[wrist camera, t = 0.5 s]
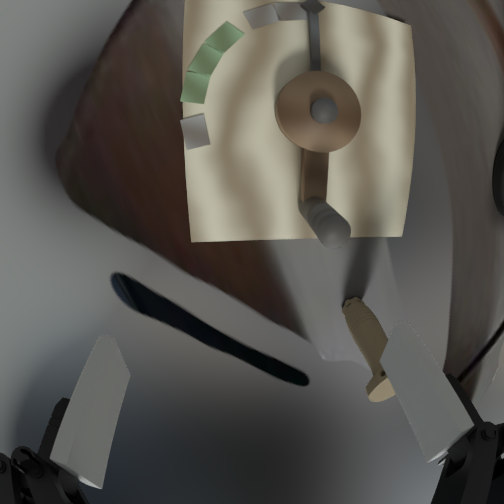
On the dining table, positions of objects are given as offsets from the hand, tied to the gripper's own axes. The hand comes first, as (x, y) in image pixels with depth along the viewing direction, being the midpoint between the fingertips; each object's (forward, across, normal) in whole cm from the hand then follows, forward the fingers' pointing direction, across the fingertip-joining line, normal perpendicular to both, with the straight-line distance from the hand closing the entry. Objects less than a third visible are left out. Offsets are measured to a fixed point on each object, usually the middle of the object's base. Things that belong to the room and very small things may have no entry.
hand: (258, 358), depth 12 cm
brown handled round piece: (+19, +7, +12) cm, 24 cm away
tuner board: (+21, +7, +11) cm, 25 cm away
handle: (+21, +15, -14) cm, 29 cm away
